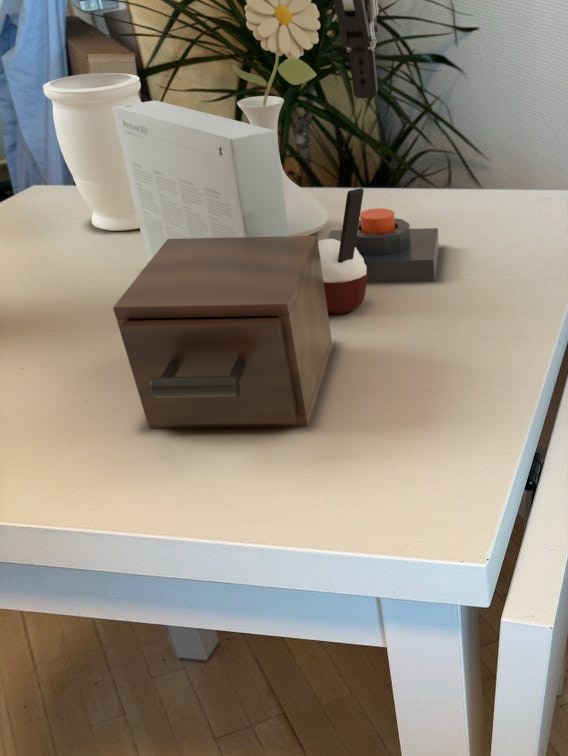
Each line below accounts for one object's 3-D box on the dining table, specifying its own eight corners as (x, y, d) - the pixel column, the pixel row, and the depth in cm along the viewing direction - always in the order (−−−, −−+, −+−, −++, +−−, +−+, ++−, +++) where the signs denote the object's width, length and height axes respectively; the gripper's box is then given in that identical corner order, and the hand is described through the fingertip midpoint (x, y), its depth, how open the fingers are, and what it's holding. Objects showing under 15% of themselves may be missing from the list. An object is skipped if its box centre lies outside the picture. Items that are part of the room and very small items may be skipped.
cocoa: (301, 296, 92) (281, 168, 84) (361, 288, 93) (347, 160, 85) (316, 333, 85) (296, 197, 77) (381, 323, 86) (368, 188, 78)
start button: (359, 237, 94) (357, 219, 93) (363, 225, 97) (361, 208, 96) (394, 236, 94) (392, 218, 93) (396, 225, 97) (395, 207, 96)
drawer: (286, 451, 67) (267, 349, 62) (131, 454, 67) (99, 352, 62) (320, 348, 80) (307, 257, 75) (191, 350, 81) (169, 260, 75)
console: (320, 283, 94) (314, 244, 92) (333, 250, 102) (328, 213, 99) (434, 281, 94) (432, 241, 92) (439, 248, 102) (437, 210, 99)
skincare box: (305, 307, 90) (278, 128, 79) (260, 324, 87) (225, 140, 76) (191, 258, 101) (154, 96, 90) (148, 272, 98) (104, 105, 88)
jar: (187, 210, 114) (156, 72, 104) (146, 237, 107) (109, 91, 97) (111, 206, 116) (74, 70, 106) (67, 232, 109) (22, 89, 99)
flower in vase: (234, 255, 101) (180, -18, 85) (231, 224, 110) (181, -31, 93) (350, 244, 103) (319, -26, 87) (338, 214, 112) (308, -38, 95)
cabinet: (307, 426, 72) (287, 303, 65) (148, 428, 72) (112, 307, 66) (332, 346, 83) (317, 235, 76) (194, 349, 83) (167, 238, 77)
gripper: (310, -142, 80) (336, 83, 92) (284, -137, 71) (317, 113, 82) (394, -145, 80) (410, 80, 92) (379, -141, 70) (399, 111, 82)
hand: (366, 96), depth 87 cm, fingers closed
